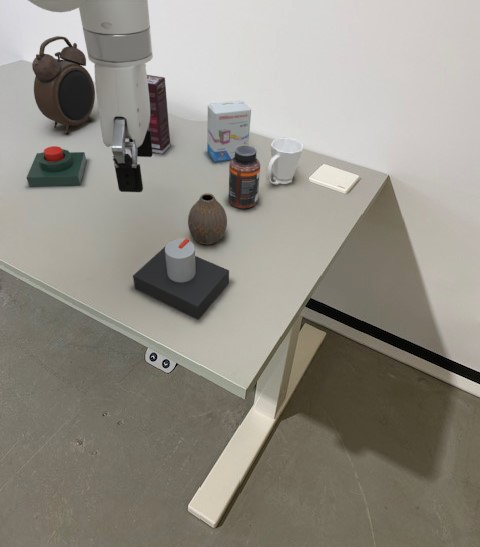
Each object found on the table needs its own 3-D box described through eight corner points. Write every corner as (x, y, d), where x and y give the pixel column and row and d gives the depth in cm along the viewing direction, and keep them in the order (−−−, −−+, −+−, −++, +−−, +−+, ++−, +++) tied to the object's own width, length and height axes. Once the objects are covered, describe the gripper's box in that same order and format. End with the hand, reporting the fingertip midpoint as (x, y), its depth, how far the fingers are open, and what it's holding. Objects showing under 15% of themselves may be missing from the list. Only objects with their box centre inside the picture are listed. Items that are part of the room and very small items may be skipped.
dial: (185, 286, 63) (184, 260, 60) (161, 276, 65) (158, 250, 61) (201, 269, 66) (200, 243, 62) (177, 259, 67) (175, 233, 64)
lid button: (44, 162, 86) (41, 154, 84) (47, 154, 88) (45, 146, 87) (62, 162, 86) (60, 154, 85) (65, 153, 89) (63, 145, 87)
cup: (304, 178, 93) (310, 144, 87) (280, 197, 87) (284, 162, 81) (278, 167, 96) (282, 133, 90) (252, 185, 90) (255, 150, 84)
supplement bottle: (263, 203, 85) (268, 152, 77) (241, 213, 82) (245, 161, 74) (243, 190, 88) (247, 139, 80) (222, 199, 85) (223, 148, 77)
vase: (191, 252, 73) (190, 211, 67) (186, 228, 78) (184, 187, 72) (230, 247, 75) (231, 206, 69) (222, 224, 80) (223, 184, 73)
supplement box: (171, 145, 101) (166, 76, 90) (162, 154, 97) (156, 84, 86) (138, 139, 102) (129, 70, 91) (129, 148, 99) (118, 78, 88)
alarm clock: (66, 140, 100) (42, 49, 86) (42, 133, 102) (16, 43, 88) (105, 118, 110) (89, 33, 96) (83, 112, 112) (65, 27, 98)
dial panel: (135, 289, 66) (132, 275, 64) (169, 257, 72) (167, 243, 70) (198, 319, 63) (197, 306, 60) (228, 283, 68) (229, 270, 66)
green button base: (29, 186, 86) (23, 169, 83) (39, 162, 93) (34, 145, 90) (80, 185, 87) (76, 168, 84) (86, 161, 94) (82, 144, 91)
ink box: (214, 163, 96) (214, 112, 87) (207, 153, 99) (206, 103, 91) (248, 157, 98) (251, 108, 90) (240, 148, 102) (243, 99, 93)
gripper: (103, 22, 55) (122, 143, 67) (65, 67, 43) (97, 206, 55) (160, 25, 56) (169, 145, 67) (139, 70, 43) (155, 207, 55)
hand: (137, 172), depth 61 cm, fingers open, 9 cm apart
